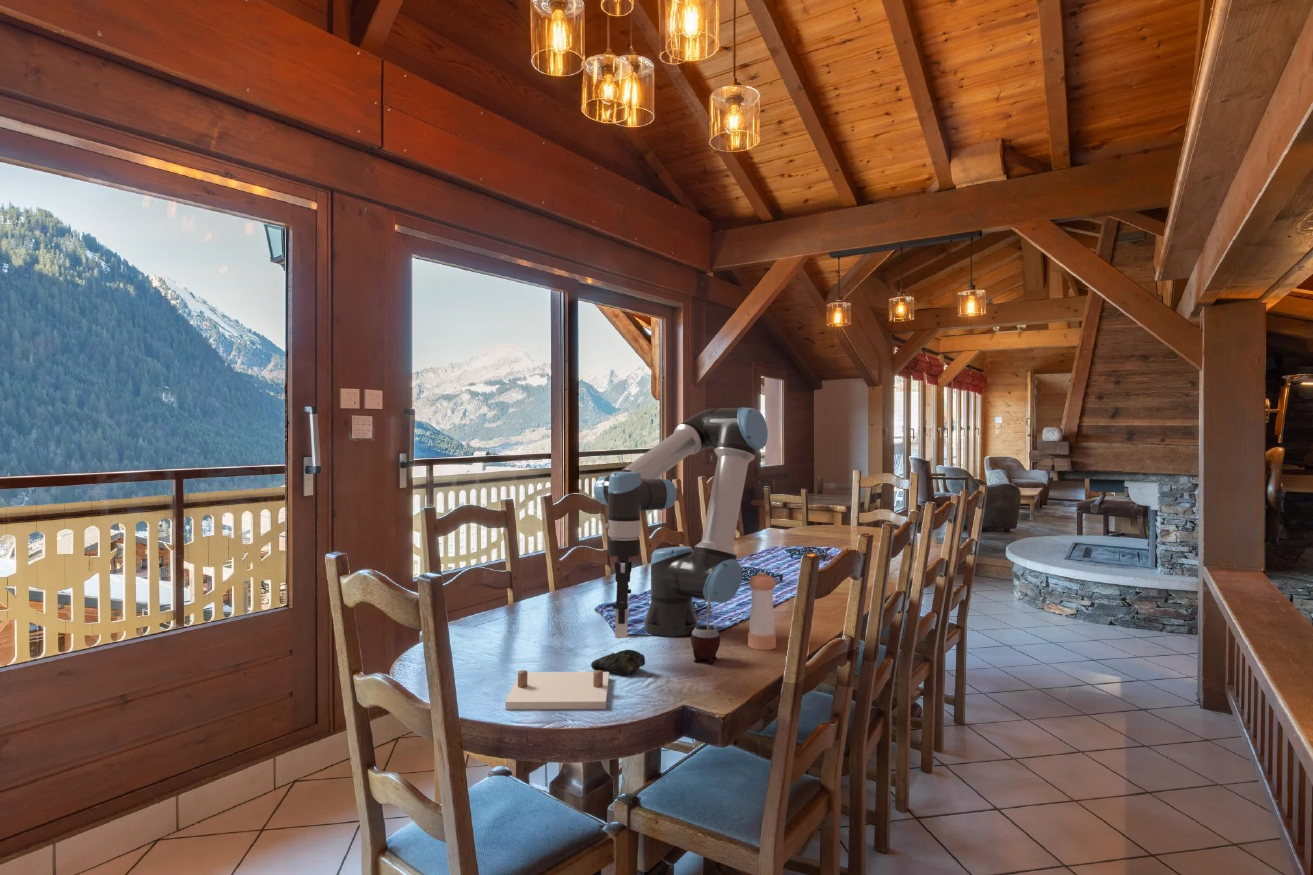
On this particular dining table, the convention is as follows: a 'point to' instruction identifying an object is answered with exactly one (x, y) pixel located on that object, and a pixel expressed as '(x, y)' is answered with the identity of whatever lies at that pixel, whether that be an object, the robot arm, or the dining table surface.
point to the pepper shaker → (762, 613)
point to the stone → (620, 662)
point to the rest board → (559, 690)
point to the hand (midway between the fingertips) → (621, 629)
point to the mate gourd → (705, 640)
